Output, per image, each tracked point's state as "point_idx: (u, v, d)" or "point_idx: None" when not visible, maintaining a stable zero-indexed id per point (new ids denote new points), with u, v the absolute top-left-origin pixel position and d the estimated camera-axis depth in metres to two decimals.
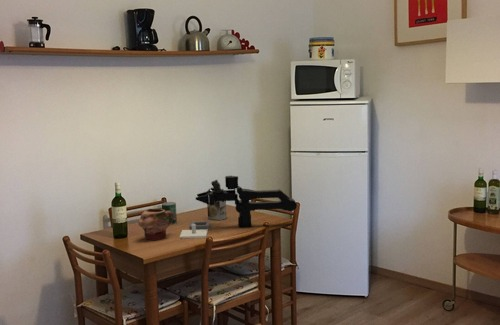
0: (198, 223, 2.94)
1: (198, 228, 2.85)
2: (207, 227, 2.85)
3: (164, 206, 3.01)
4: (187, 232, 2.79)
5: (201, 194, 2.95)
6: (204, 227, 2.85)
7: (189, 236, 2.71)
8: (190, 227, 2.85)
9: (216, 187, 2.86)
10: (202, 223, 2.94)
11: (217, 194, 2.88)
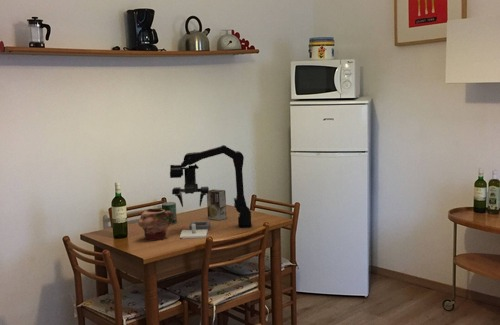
0: (198, 223, 2.94)
1: (198, 228, 2.85)
2: (207, 227, 2.85)
3: (164, 206, 3.01)
4: (187, 232, 2.79)
5: (182, 202, 2.88)
6: (204, 227, 2.85)
7: (189, 236, 2.71)
8: (190, 227, 2.85)
9: (197, 187, 2.82)
10: (202, 223, 2.94)
11: None
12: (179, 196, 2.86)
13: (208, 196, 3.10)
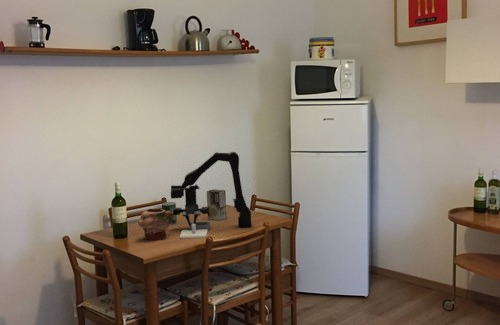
0: (198, 223, 2.94)
1: (198, 228, 2.85)
2: (207, 227, 2.85)
3: (164, 206, 3.01)
4: (187, 232, 2.79)
5: None
6: (204, 227, 2.85)
7: (189, 236, 2.71)
8: (190, 227, 2.85)
9: (198, 208, 2.84)
10: (202, 223, 2.94)
11: None
12: (187, 216, 2.87)
13: (208, 196, 3.10)
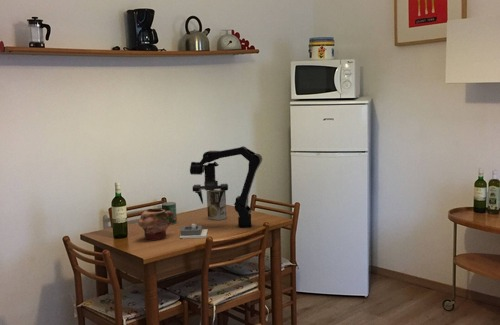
0: (190, 227, 2.81)
1: (189, 233, 2.73)
2: (199, 232, 2.72)
3: (164, 206, 3.01)
4: None
5: (202, 199, 2.94)
6: (196, 232, 2.72)
7: (189, 236, 2.71)
8: (181, 232, 2.72)
9: None
10: None
11: None
12: (199, 193, 2.92)
13: (208, 196, 3.10)
